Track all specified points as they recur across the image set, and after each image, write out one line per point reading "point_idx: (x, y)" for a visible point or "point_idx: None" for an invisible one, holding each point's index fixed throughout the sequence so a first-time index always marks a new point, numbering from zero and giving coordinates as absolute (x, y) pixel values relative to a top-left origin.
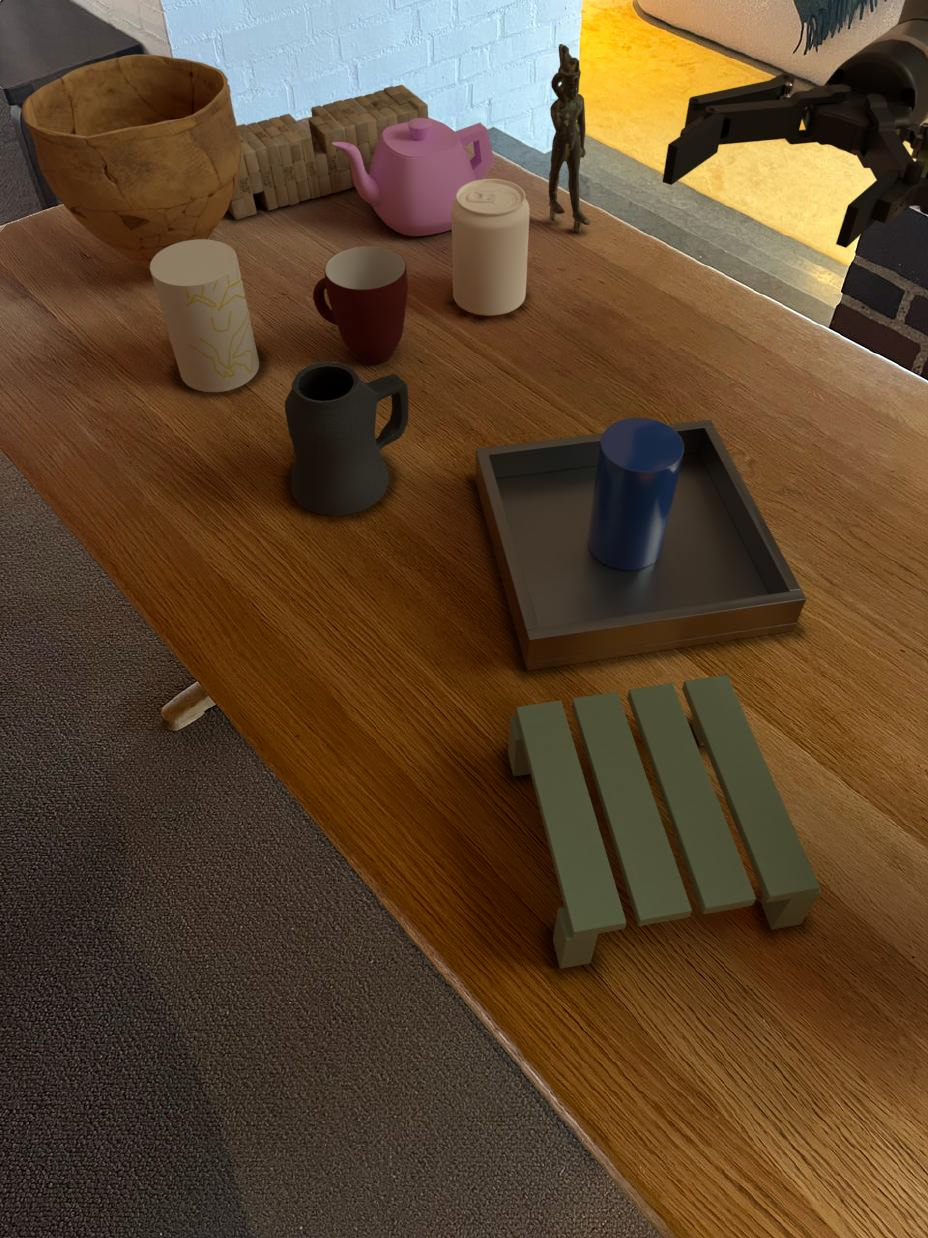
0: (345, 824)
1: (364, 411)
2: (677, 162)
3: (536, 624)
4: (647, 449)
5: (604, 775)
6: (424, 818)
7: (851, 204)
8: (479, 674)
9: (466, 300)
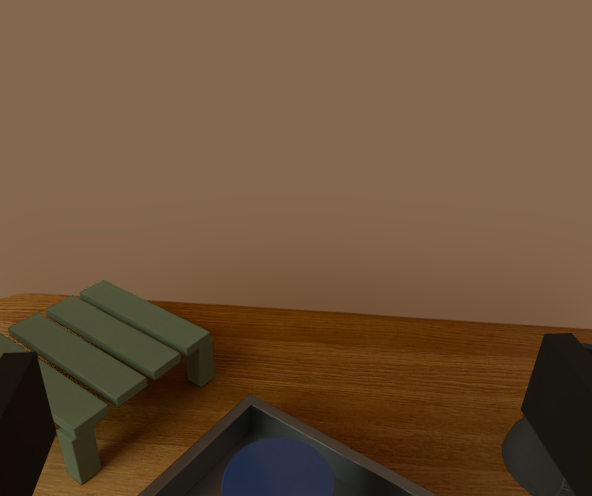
0: (261, 310)
1: None
2: (541, 380)
3: (255, 404)
4: (266, 477)
5: (129, 330)
6: (228, 330)
7: (26, 356)
8: (277, 404)
9: None
